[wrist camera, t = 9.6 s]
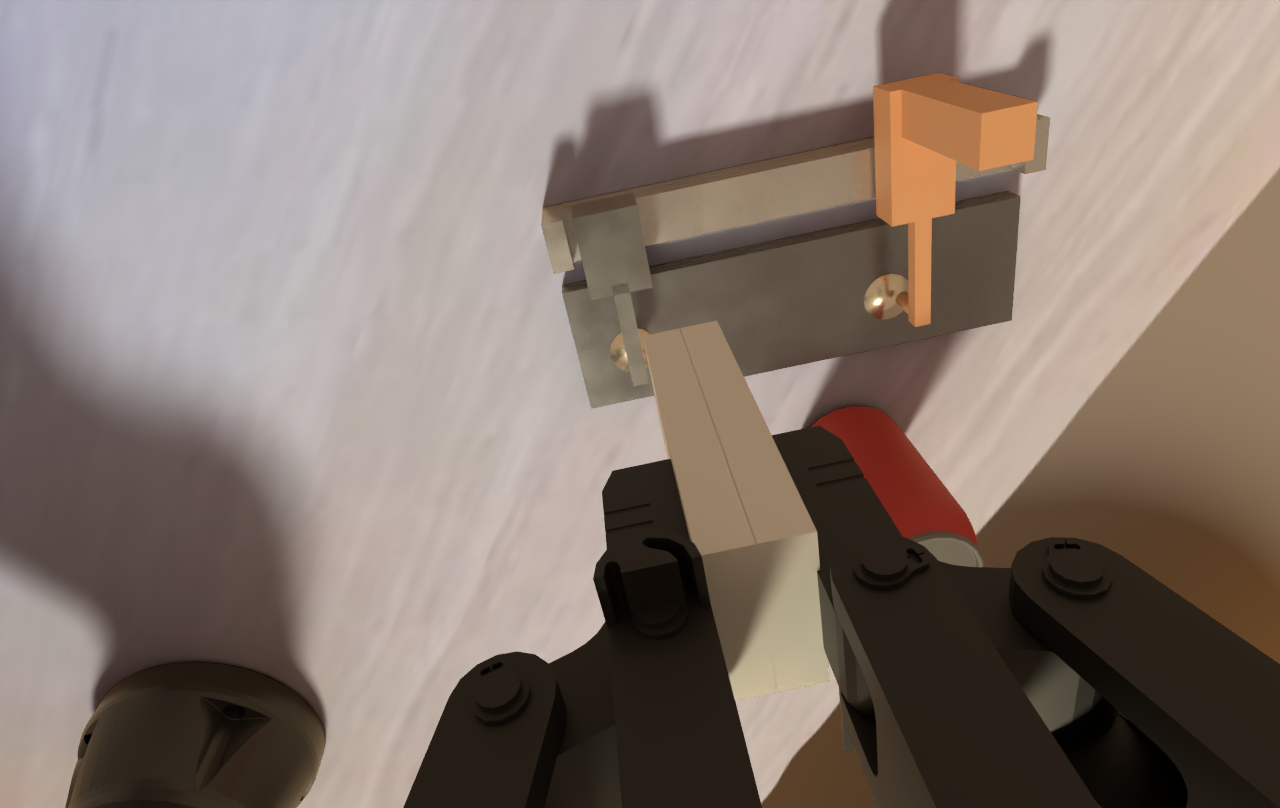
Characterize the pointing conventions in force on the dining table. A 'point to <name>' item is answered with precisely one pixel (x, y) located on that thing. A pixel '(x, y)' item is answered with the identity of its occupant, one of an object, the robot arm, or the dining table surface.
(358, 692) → the dining table surface
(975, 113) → the block
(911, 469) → the beer can
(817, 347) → the hole plate
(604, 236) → the beam
